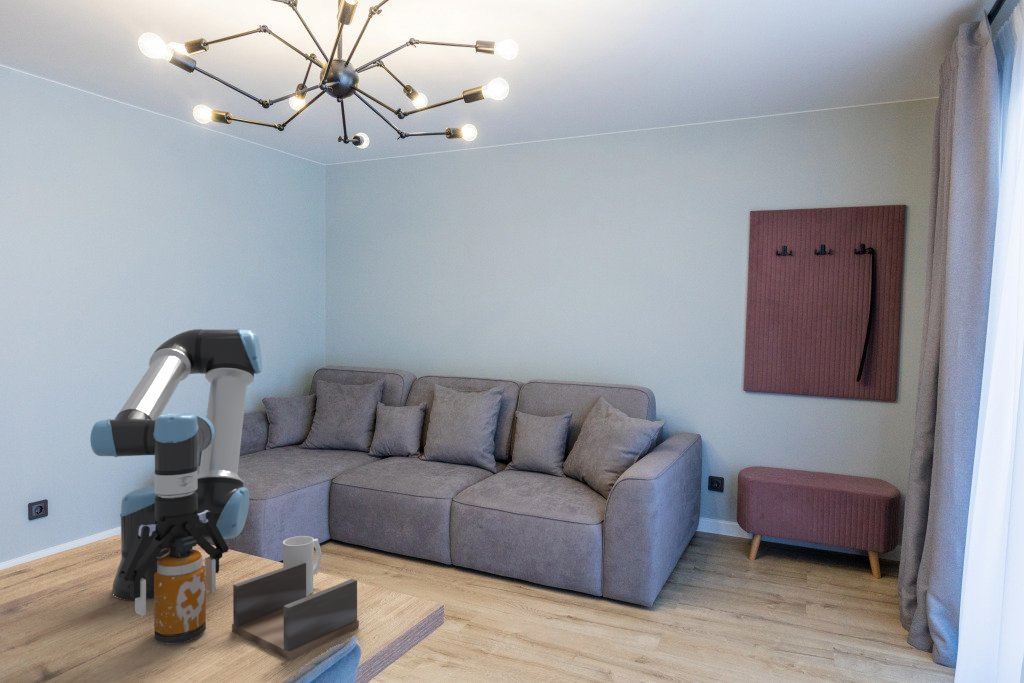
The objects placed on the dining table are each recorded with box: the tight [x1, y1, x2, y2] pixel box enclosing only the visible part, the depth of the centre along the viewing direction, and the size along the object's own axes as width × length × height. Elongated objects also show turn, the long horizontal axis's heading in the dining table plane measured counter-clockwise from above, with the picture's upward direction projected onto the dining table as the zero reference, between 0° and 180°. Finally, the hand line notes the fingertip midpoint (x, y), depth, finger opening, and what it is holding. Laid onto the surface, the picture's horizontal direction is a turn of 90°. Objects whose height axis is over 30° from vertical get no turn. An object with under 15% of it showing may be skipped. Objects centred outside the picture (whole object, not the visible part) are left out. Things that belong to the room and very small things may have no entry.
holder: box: [231, 561, 360, 661], centre depth 130 cm, size 19×16×10 cm
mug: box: [282, 535, 322, 597], centre depth 149 cm, size 10×7×12 cm, turn 150°
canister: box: [153, 536, 207, 645], centre depth 127 cm, size 9×11×20 cm
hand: (176, 601), depth 127 cm, fingers open, 13 cm apart
